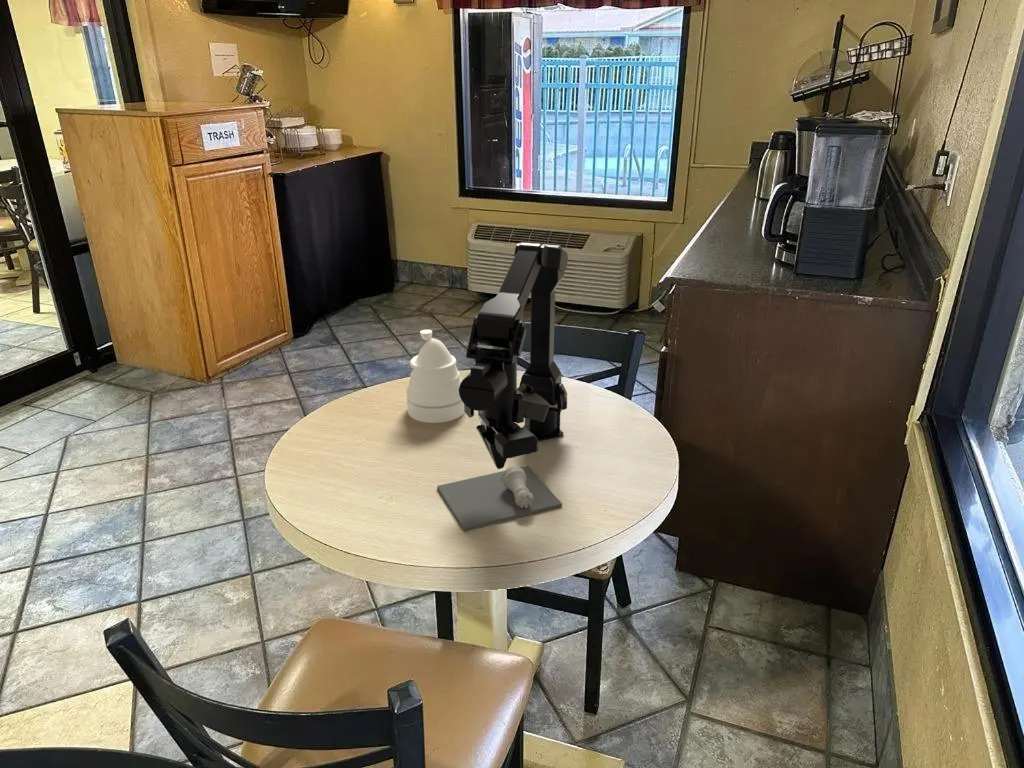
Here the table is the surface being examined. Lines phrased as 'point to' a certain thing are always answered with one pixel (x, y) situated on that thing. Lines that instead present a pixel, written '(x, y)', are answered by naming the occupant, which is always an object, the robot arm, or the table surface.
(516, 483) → the rook chess piece
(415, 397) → the honey pot
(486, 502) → the rubber mat
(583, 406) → the table surface
